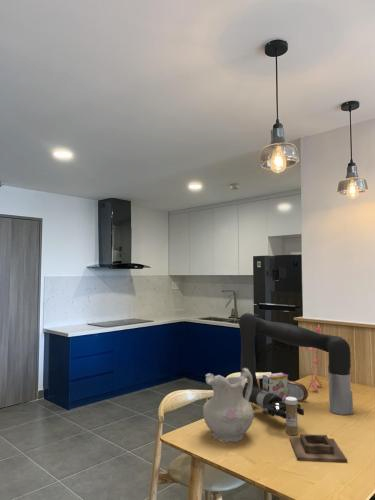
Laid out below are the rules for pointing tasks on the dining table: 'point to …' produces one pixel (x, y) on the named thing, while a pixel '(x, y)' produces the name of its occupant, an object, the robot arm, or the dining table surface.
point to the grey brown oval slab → (297, 391)
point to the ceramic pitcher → (229, 407)
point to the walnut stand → (316, 448)
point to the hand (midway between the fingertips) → (294, 414)
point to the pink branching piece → (315, 362)
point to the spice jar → (291, 415)
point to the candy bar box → (276, 384)
